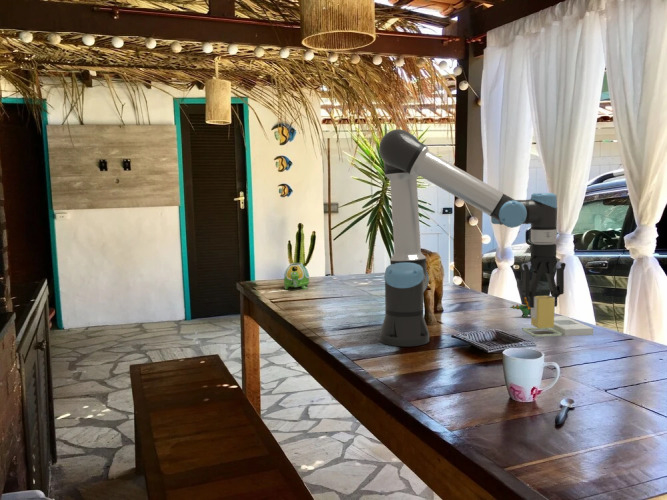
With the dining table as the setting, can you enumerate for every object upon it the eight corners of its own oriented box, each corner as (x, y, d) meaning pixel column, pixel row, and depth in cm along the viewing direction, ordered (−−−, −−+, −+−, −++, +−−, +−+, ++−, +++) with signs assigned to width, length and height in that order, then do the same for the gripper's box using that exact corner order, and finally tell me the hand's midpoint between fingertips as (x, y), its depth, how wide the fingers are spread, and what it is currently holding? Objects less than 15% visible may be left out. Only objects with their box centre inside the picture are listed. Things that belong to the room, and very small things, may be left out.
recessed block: (564, 339, 177) (565, 329, 177) (538, 325, 195) (538, 316, 195) (593, 337, 178) (593, 328, 178) (564, 324, 196) (564, 315, 195)
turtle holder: (280, 292, 269) (280, 266, 268) (285, 286, 287) (285, 262, 286) (307, 292, 269) (306, 266, 268) (310, 285, 287) (310, 261, 286)
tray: (534, 339, 177) (534, 335, 177) (521, 332, 186) (522, 328, 186) (562, 338, 178) (562, 333, 177) (548, 331, 186) (549, 327, 186)
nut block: (538, 328, 179) (538, 299, 178) (531, 324, 183) (531, 296, 183) (553, 327, 179) (554, 298, 178) (546, 323, 184) (546, 295, 183)
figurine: (544, 320, 203) (544, 297, 202) (511, 321, 202) (511, 298, 201) (540, 318, 206) (540, 295, 205) (507, 319, 205) (508, 296, 204)
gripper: (520, 245, 174) (519, 321, 176) (577, 243, 176) (576, 318, 178) (510, 243, 182) (509, 316, 184) (565, 241, 183) (564, 313, 186)
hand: (542, 317), depth 181 cm, fingers closed on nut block, 5 cm apart
